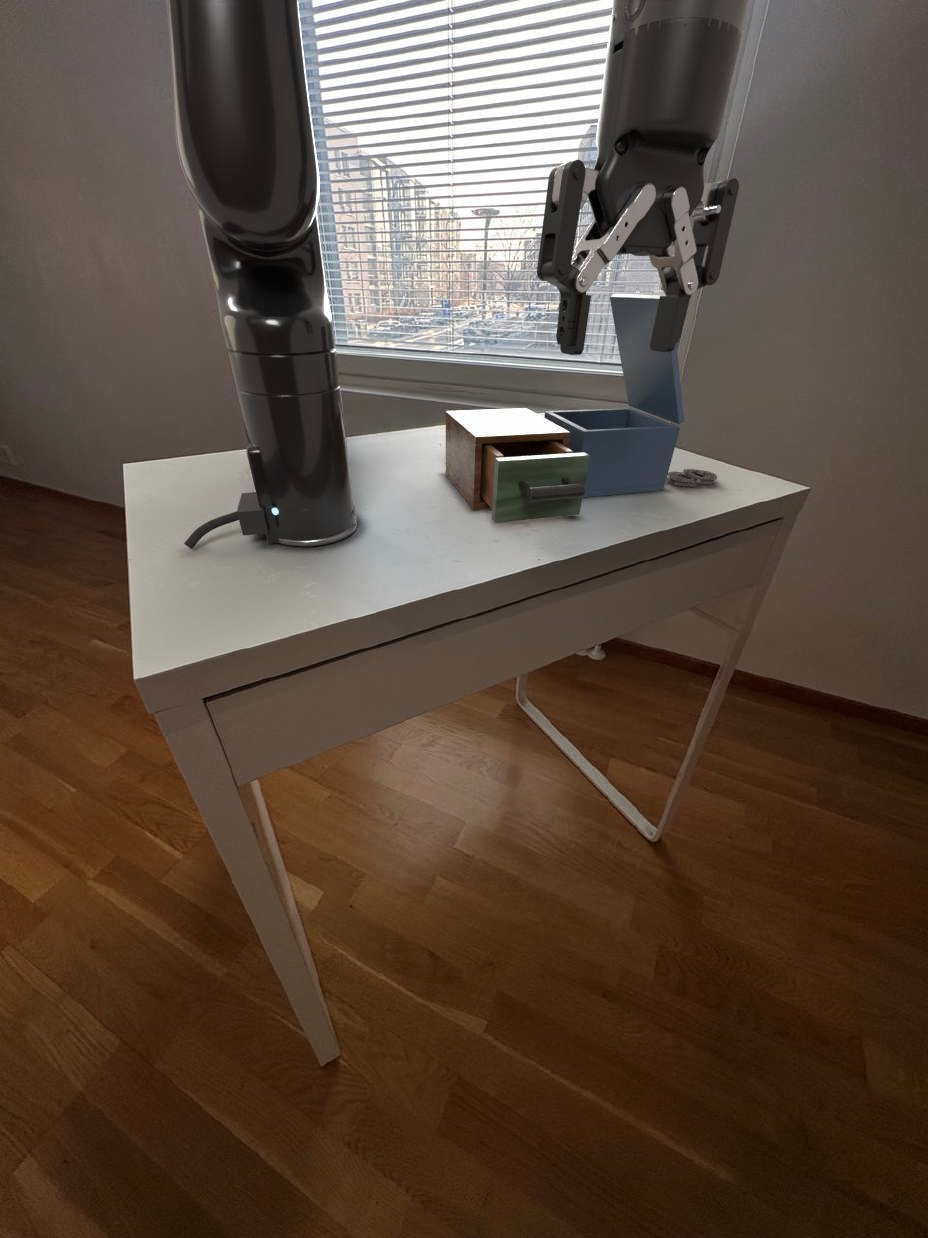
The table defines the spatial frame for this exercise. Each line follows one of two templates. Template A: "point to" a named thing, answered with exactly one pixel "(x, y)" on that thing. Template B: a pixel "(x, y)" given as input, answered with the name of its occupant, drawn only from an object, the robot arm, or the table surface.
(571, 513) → the drawer
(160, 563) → the table surface
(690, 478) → the corroded twin loop
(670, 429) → the chest
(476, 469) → the cabinet
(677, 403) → the lid
